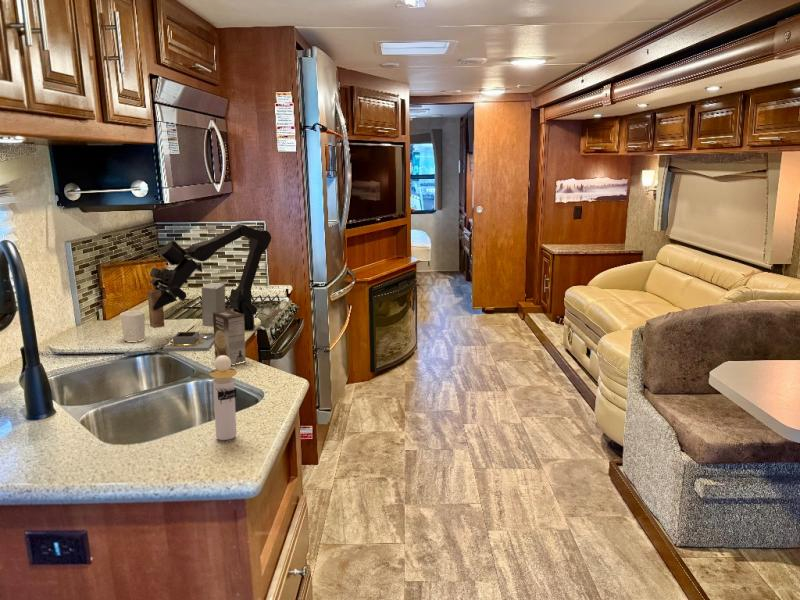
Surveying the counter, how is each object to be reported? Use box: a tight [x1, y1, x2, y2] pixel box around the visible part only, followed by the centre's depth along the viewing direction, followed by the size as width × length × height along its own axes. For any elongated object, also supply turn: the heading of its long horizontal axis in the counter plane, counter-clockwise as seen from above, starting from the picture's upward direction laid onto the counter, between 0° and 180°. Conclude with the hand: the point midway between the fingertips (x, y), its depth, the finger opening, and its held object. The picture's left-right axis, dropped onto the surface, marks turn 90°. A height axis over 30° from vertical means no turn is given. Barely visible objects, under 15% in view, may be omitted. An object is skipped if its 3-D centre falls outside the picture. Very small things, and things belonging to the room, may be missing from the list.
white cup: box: [119, 310, 146, 342], centre depth 211 cm, size 8×8×10 cm
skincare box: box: [201, 282, 226, 327], centre depth 234 cm, size 8×7×16 cm
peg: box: [147, 289, 165, 329], centre depth 204 cm, size 4×4×12 cm
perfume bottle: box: [209, 355, 238, 441], centre depth 134 cm, size 6×6×20 cm
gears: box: [169, 331, 214, 348], centre depth 208 cm, size 14×16×3 cm
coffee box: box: [212, 309, 247, 365], centre depth 189 cm, size 9×6×16 cm
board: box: [162, 333, 214, 352], centre depth 209 cm, size 15×18×1 cm
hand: (151, 308), depth 203 cm, fingers closed on peg, 4 cm apart
